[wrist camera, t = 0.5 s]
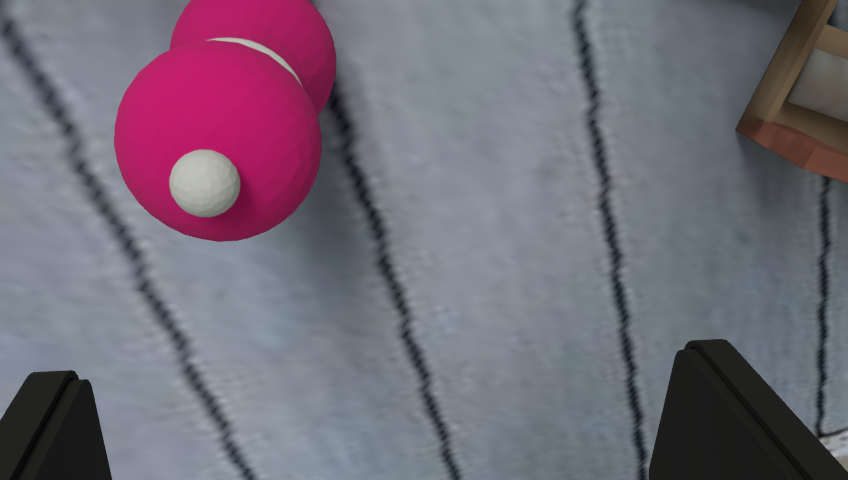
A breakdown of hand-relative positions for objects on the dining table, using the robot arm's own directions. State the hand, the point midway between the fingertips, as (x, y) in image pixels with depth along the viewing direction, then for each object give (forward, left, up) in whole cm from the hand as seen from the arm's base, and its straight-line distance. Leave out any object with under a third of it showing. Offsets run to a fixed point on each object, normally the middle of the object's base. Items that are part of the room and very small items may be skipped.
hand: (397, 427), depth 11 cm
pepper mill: (0, -4, -28) cm, 29 cm away
